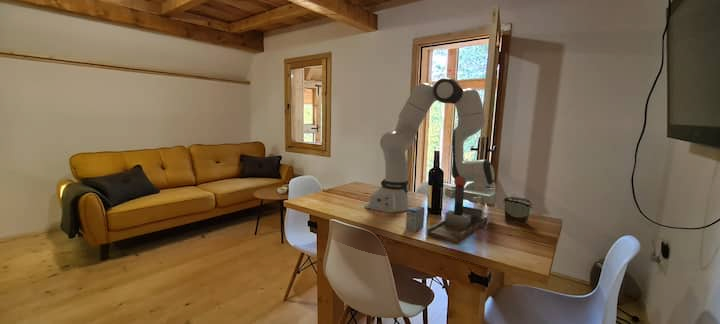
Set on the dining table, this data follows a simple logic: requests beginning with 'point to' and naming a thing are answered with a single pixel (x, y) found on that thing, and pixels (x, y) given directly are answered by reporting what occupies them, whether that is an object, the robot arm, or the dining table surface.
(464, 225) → the red knob lever
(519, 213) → the food container
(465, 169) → the robot arm
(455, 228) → the press base
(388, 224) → the dining table surface
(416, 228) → the medicine box
